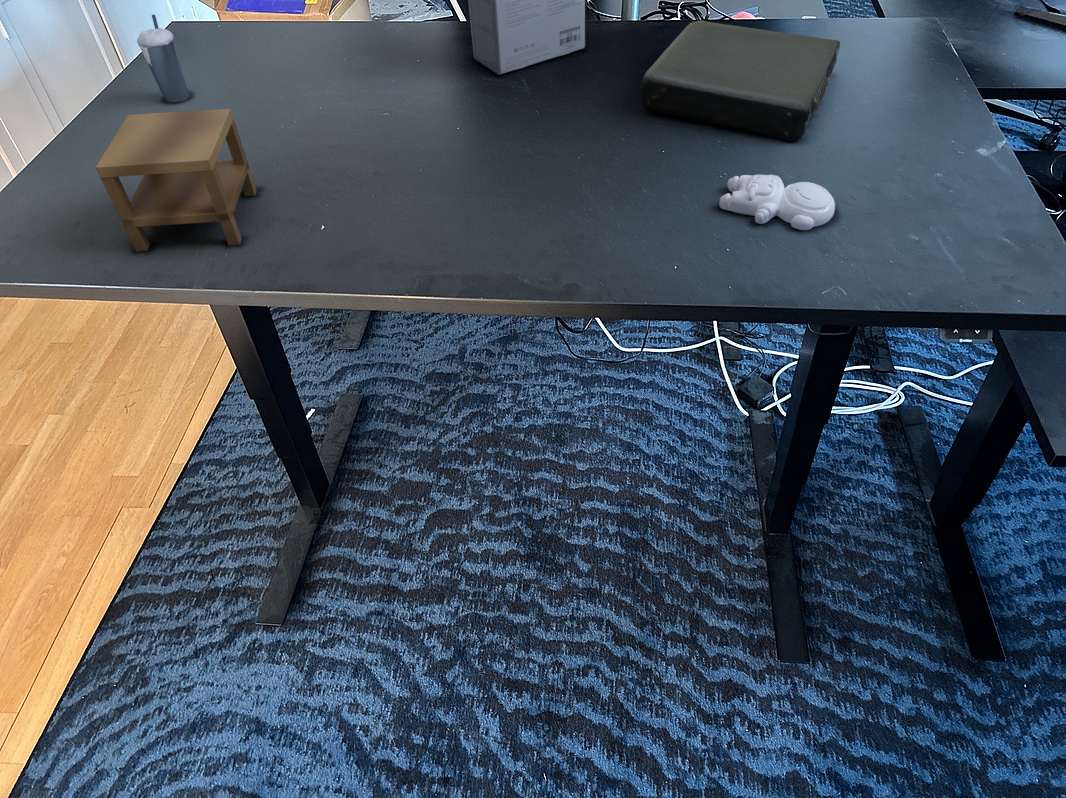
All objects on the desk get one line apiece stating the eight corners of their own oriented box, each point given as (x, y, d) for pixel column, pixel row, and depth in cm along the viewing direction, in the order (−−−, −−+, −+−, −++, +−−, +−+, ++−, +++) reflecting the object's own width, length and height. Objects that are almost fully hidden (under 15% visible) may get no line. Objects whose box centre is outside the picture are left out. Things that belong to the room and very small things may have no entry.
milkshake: (196, 86, 110) (171, 12, 103) (191, 103, 106) (164, 28, 99) (164, 89, 110) (135, 16, 102) (158, 106, 106) (128, 31, 99)
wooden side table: (136, 251, 82) (94, 167, 75) (162, 196, 90) (127, 114, 83) (239, 244, 83) (208, 159, 76) (257, 190, 90) (230, 108, 83)
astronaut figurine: (734, 176, 89) (738, 152, 87) (839, 198, 86) (847, 174, 83) (711, 214, 84) (715, 190, 82) (823, 240, 80) (830, 215, 78)
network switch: (822, 147, 93) (832, 108, 90) (632, 123, 99) (635, 84, 95) (834, 67, 108) (843, 30, 105) (669, 50, 114) (672, 14, 110)
